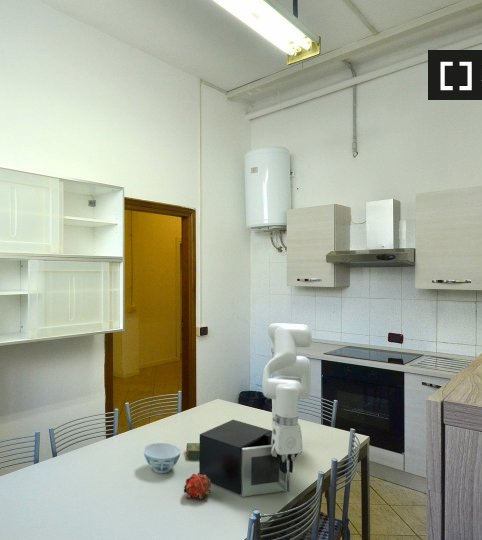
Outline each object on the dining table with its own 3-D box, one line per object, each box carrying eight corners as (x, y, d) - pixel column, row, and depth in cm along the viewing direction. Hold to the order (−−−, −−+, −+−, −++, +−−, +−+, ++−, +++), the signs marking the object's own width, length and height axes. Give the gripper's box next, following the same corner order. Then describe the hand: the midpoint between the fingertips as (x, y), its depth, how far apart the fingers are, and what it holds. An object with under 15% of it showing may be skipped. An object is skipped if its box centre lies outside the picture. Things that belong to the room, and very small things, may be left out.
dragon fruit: (212, 496, 156) (187, 511, 149) (198, 475, 161) (173, 489, 155) (220, 484, 151) (194, 499, 144) (205, 463, 156) (180, 476, 150)
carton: (225, 460, 182) (225, 450, 182) (187, 459, 183) (187, 449, 183) (222, 452, 191) (222, 442, 191) (186, 451, 191) (186, 442, 191)
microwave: (277, 475, 170) (277, 432, 170) (245, 497, 153) (245, 449, 153) (232, 459, 184) (233, 419, 184) (199, 477, 167) (199, 434, 167)
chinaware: (185, 465, 177) (185, 446, 177) (172, 481, 164) (172, 461, 164) (152, 458, 184) (152, 440, 184) (137, 473, 170) (137, 453, 170)
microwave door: (295, 498, 152) (296, 451, 152) (251, 505, 147) (251, 456, 147) (283, 488, 159) (284, 443, 159) (240, 494, 154) (241, 448, 154)
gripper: (272, 425, 147) (271, 478, 147) (312, 421, 151) (312, 474, 151) (261, 417, 155) (260, 469, 154) (299, 415, 158) (299, 465, 158)
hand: (286, 471), depth 153 cm, fingers closed on microwave door
